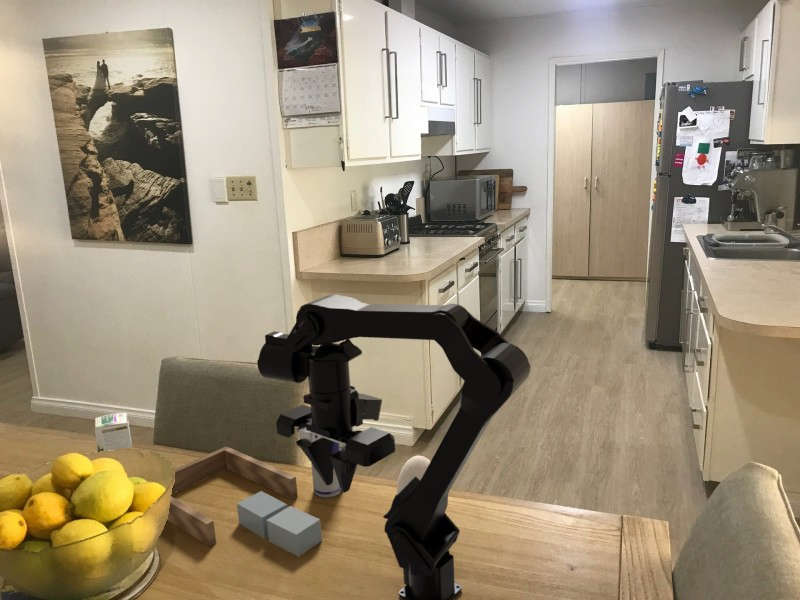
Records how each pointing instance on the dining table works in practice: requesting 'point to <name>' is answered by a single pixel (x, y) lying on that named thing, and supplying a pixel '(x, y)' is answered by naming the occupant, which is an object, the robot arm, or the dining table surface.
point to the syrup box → (112, 432)
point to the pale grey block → (258, 512)
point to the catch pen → (212, 465)
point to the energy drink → (319, 484)
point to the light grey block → (294, 530)
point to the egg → (412, 470)
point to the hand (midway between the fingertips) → (337, 487)
